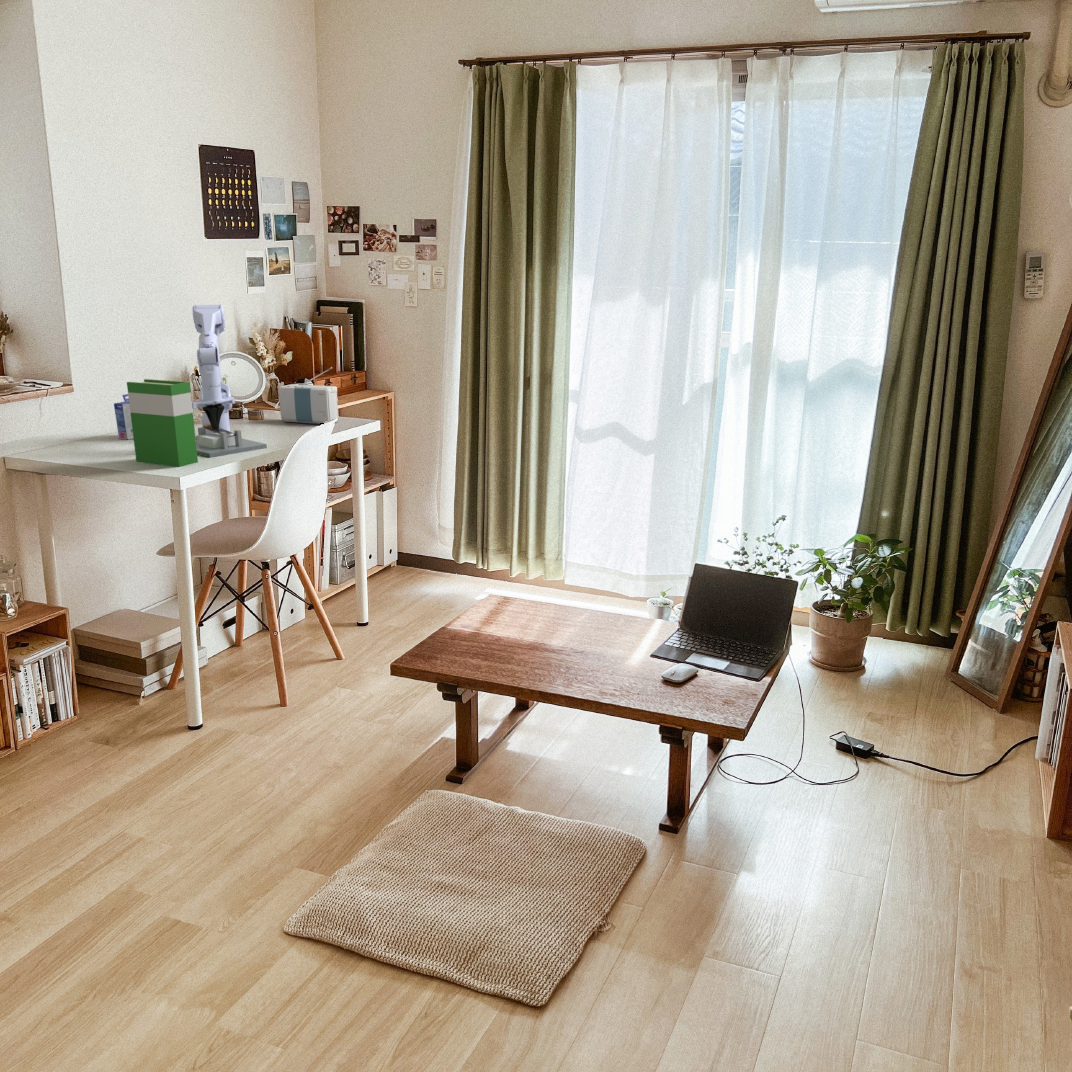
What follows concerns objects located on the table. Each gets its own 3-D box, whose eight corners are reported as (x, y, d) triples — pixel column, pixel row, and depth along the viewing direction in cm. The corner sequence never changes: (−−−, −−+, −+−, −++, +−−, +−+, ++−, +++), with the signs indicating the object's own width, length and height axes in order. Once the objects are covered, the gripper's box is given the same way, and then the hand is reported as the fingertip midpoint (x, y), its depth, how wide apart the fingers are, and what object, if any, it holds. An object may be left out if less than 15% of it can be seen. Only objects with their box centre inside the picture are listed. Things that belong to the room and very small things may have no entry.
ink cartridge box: (142, 434, 356) (137, 392, 352) (152, 435, 353) (147, 393, 349) (117, 438, 348) (111, 395, 344) (127, 440, 345) (122, 397, 341)
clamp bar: (203, 428, 332) (202, 424, 332) (211, 427, 335) (211, 422, 334) (227, 437, 323) (227, 433, 323) (236, 436, 325) (235, 432, 325)
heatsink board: (174, 448, 331) (172, 429, 329) (230, 439, 345) (228, 420, 343) (210, 457, 316) (208, 437, 315) (266, 447, 330) (265, 428, 328)
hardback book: (136, 461, 311) (126, 382, 305) (155, 457, 318) (146, 379, 311) (179, 467, 304) (170, 385, 297) (197, 462, 310) (189, 382, 303)
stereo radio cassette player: (280, 422, 375) (275, 367, 370) (293, 419, 383) (289, 364, 377) (328, 426, 368) (325, 369, 362) (341, 422, 375) (338, 367, 369)
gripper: (196, 389, 319) (201, 432, 322) (238, 384, 329) (242, 426, 333) (185, 387, 323) (189, 430, 327) (226, 382, 333) (230, 424, 337)
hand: (215, 428), depth 330 cm, fingers closed, pressing on clamp bar
